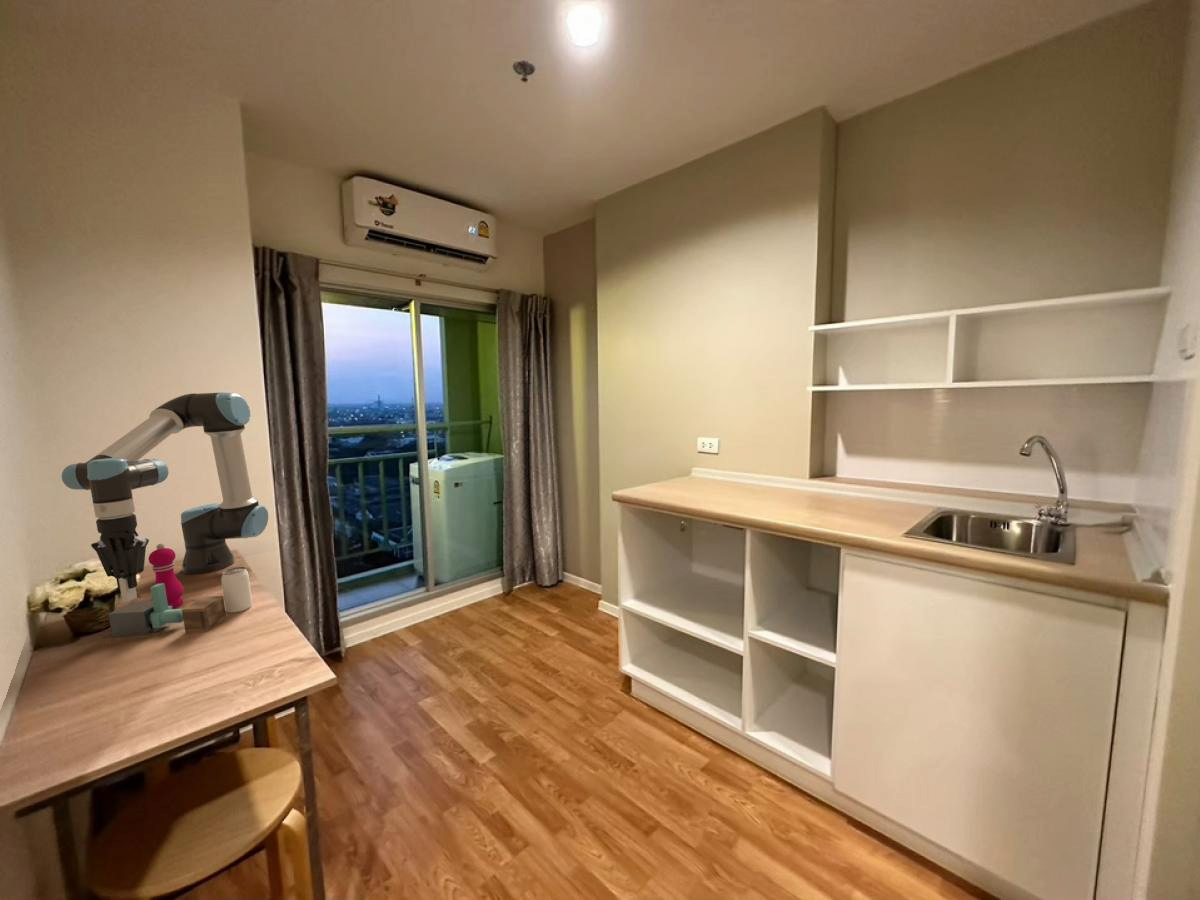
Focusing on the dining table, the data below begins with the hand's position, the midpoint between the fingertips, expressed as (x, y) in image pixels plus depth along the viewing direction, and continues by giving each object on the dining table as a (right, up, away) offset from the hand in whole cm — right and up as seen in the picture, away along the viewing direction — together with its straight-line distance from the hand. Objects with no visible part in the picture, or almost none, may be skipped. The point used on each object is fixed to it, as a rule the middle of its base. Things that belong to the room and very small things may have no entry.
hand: (129, 599), depth 130 cm
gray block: (+2, -9, +2) cm, 9 cm away
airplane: (+5, -7, +2) cm, 9 cm away
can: (+21, -7, +13) cm, 25 cm away
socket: (+19, -8, +3) cm, 21 cm away
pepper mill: (-3, -7, +15) cm, 17 cm away
